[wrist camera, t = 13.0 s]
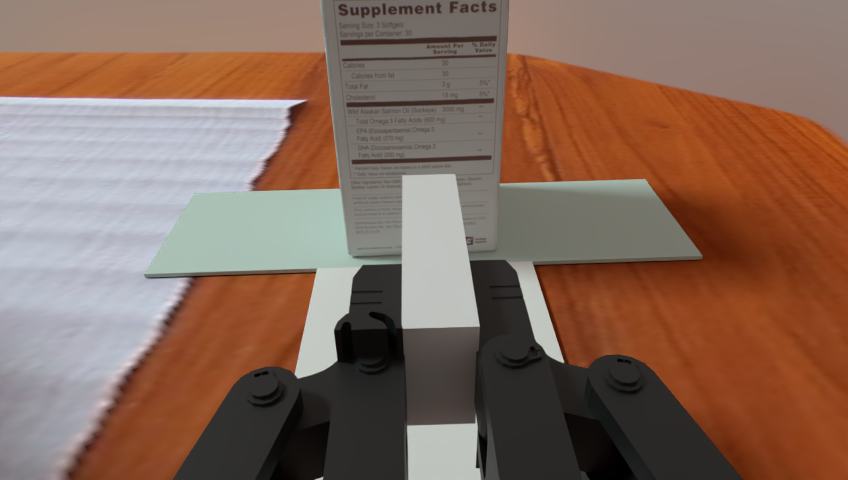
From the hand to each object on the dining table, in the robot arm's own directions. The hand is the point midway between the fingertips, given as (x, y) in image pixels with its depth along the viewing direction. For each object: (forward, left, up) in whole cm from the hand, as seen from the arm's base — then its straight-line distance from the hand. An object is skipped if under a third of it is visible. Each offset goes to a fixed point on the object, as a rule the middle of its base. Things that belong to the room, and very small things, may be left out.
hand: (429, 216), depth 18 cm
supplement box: (-9, +8, -7) cm, 14 cm away
